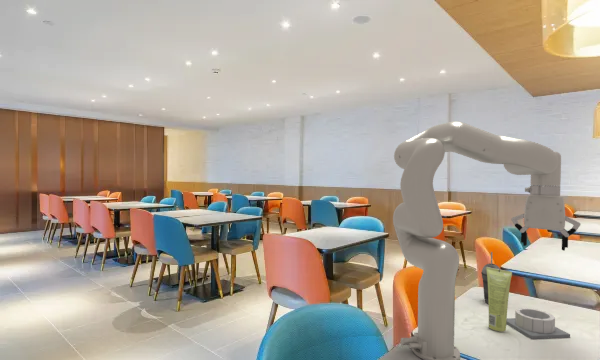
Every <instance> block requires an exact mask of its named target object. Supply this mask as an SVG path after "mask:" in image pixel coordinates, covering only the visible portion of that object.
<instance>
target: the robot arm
mask: <svg viewBox="0 0 600 360" xmlns="http://www.w3.org/2000/svg"><path fill="white" fill-rule="evenodd" d="M445 153H455V154H458V155H461V156H464V157H465V158H466V157H467V158H470V159H472V160H475V161H478V162H481V163H485V164H492V165H493V164H494V165H503V168H504V169H505V170H506V172H507V173H510V174H512V175H514V176H515V175H516V176H526V175H527V176H530V185H529V186H528V187H524V192H526V193H529V194H530V195H527V196H526V199H525V204H524V205H525V206H524V213H522V214H519V215H516V216H513V217H511V222H512V224H513V226H514V227H515V228H516V229H517V230H518V231H519V232H520V243H522V245H523V247H525V246H527V245H528V232H527V230H529V228H530V229H537V230H549V231H559V232H560V233H561V234H562V236H561V250H562V251H565V250H566V248H568V247H569V237H570V236H572V235H574V234H575V233H576V232H577V231H578V230H579V228H580V227H581V223H580V222H579V221H577V220H575V219H573V218H570V217H569V216H567V215H566V205H565V201H564V200H565V199H564V197H563V196H561V178H562V174H561V173H562V154H561V153H560V152H558V151H554V150H553V149H551V148H550V147H548V146H545V145H543V144H541V143H538V142H535V141H531V140H526V139H521V138H516V137H511V136H505V135H499V134H496V133H495V134H494V133H491V132H489V131H486V130H483V129H481V128H479V127H476V126H473V125H470V124H468V123H465V122H462V121H449V122H445V123H440V124H436V125H432V126H431V127H429V128H427V129H425V130H423V131H421V132H419V133H417V134H416V135H414V136H412V137H410V138H408V139H406V140H404V141H402V142H401V143H400V144H398V146H397V147H396V148H395V150H394V155H393V157H394V158H393V159H394V161H395V164H396V165H397V166H398V168H400V169H403V172H402V174H401V178H400V183H399V184H400V185H399V188H400V192H401V198H402V201H403V202H401V203H399V204H398V205H397V206H396V207H395V209H394V211H393V215H392V223H393V227H394V230H395V234H396V237H397V240H398V243H399V247H400V250H401V253H402V256H403V257H404V258H405V260H406V261H407V262H408V263H409V264H411V265H412V266H414V267H416V268H419V270H422V271H423V272H422V274H421V278H420V279H419V282H418V286H417V287H418V289H417V290H418V292H417V295H418V297H417V301H418V302H417V332H414V335H413V336H411V337H401V338H400V344H401V346H408V347H409V349H411V350H412V352H413V353H414V355H415V356H417V357H418V358H420V359H422V360H460V359H461V351H460V350H459V348H458V347H457V346H455V320H456V319H455V317H456V316H455V315H456V314H455V313H456V312H455V309H456V308H455V307H456V306H455V305H456V303H455V302H456V299H455V298H456V283H457V282H456V281H457V276H458V275H457V274H458V270H459V266H460V255H459V253H458V251H457V249H456V248H455V247H454V246H453V245H452V244H451V243H449V242H447V241H444V240H442V239H437V238H436V237H438V236H439V235H441V234H442V231H443V229H444V221H443V216H442V214H441V210H440V207H439V204H438V200H437V196H436V193H435V189H434V188H435V187H434V178H435V174H436V172H437V170H438V168H439V167H440V165H441V164H442V162H443V160H444V158H445ZM522 219H523V220H524V221H523V224H524V226H522V225H521V224H520V223H519V220H522ZM566 222H567V223H569V224H572V228H570V229H569V230H567V229H566V228H565V227H566ZM568 249H569V248H568Z"/></svg>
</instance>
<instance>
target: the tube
mask: <svg viewBox="0 0 600 360" xmlns="http://www.w3.org/2000/svg"><path fill="white" fill-rule="evenodd" d="M486 271H487V280H488V301H489V305H488V328H489V329H490V330H492V331H495V332H501V333H502V332H506V330H507V324H506V321H507V317H508V305H509V297H510V296H509V295H510V288H511V281H512V276H513V271H511V270H510V271H509V270H503V269H501V270H499V269H494V268H489V267H486Z"/></svg>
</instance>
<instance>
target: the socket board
mask: <svg viewBox="0 0 600 360" xmlns="http://www.w3.org/2000/svg"><path fill="white" fill-rule="evenodd" d="M514 315H515V316H514V317H515V318H514V317H513V318H512V317H511V318H510V317H508V318H507V321H506V326H509V327H510V328H512V329H514V330H516V331H517V332H518V333H520V334H522V335H524V336H525V337H527V338H529V339H530V340H542V339H565V338H566V339H567V338H568V339H569V338H571V334H570V333H569V332H567V331H565V330H563V329H560V328H558V327H557V326H556V318H555V316H554V315H553V314H551V313H550V312H547V311H545V310H541V309H538V308H531V307H518V308H517V309H515V313H514Z"/></svg>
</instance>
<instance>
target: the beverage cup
mask: <svg viewBox="0 0 600 360" xmlns="http://www.w3.org/2000/svg"><path fill="white" fill-rule="evenodd" d="M486 267H489V268H494V269H499V270H502V269H501V268H500V266H498V265H497V264H495V263H493V251H490V263H487V264H484V266H483V267H482V269H481V279H482V286H483V287H482V288H483V298H484V299H483V300H484V304H486V305H488V306H489V301H488V280H487V271H486Z"/></svg>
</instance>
